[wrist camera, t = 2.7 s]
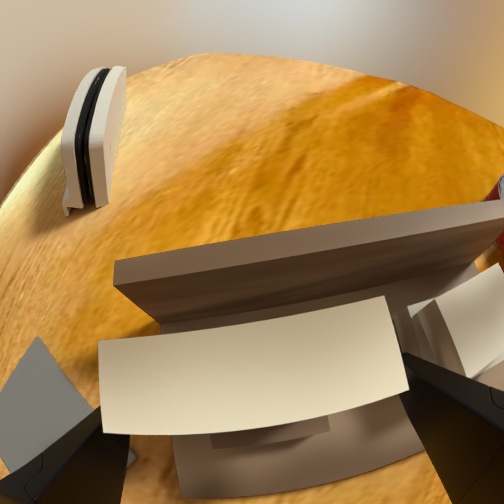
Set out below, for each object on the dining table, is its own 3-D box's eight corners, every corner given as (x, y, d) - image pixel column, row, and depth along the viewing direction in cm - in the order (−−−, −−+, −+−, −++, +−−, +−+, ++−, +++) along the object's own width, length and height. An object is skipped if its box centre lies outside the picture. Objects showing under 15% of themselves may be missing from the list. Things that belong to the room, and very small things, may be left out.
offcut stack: (490, 363, 14) (532, 346, 10) (413, 399, 13) (452, 394, 10) (468, 290, 16) (503, 260, 12) (392, 313, 16) (422, 285, 12)
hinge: (92, 120, 32) (90, 52, 24) (126, 118, 33) (129, 50, 25) (64, 219, 24) (40, 135, 16) (110, 217, 25) (99, 129, 17)
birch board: (322, 399, 14) (409, 389, 5) (211, 417, 14) (103, 432, 4) (315, 365, 15) (384, 295, 6) (207, 382, 15) (98, 340, 5)
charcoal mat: (64, 534, 10) (61, 536, 9) (-14, 425, 14) (-18, 424, 14) (138, 455, 14) (134, 456, 14) (40, 338, 18) (36, 336, 18)
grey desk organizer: (500, 400, 13) (572, 382, 7) (188, 491, 13) (138, 534, 6) (458, 256, 19) (509, 198, 12) (167, 313, 19) (114, 260, 12)
